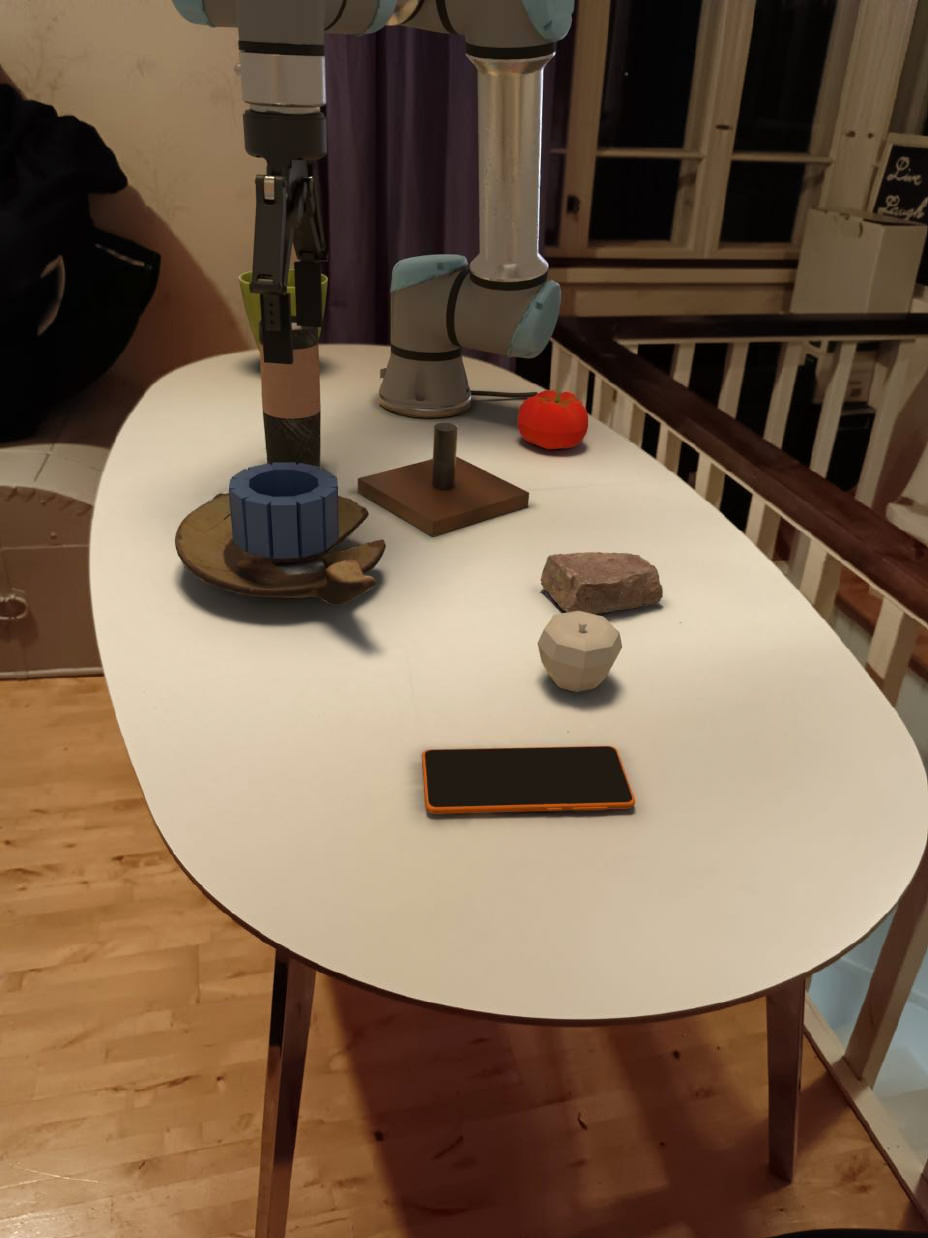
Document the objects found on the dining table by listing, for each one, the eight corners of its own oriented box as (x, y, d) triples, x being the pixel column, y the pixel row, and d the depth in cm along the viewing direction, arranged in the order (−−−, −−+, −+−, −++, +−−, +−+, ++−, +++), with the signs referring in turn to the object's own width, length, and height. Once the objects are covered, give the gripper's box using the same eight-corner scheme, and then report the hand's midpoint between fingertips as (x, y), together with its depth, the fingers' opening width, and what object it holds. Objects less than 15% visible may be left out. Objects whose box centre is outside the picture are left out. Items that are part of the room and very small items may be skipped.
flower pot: (227, 368, 169) (220, 274, 161) (291, 353, 179) (287, 264, 171) (283, 388, 161) (278, 291, 153) (347, 371, 171) (346, 279, 163)
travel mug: (327, 461, 135) (324, 317, 124) (314, 482, 128) (310, 332, 118) (274, 457, 135) (267, 312, 125) (259, 477, 129) (249, 327, 118)
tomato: (550, 462, 139) (555, 412, 135) (501, 438, 146) (505, 391, 142) (601, 448, 145) (608, 400, 141) (552, 426, 152) (557, 380, 148)
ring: (304, 505, 108) (302, 455, 105) (358, 541, 101) (358, 489, 98) (215, 528, 102) (210, 475, 99) (265, 568, 95) (262, 513, 92)
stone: (625, 570, 111) (631, 533, 109) (667, 609, 104) (675, 571, 102) (534, 583, 107) (538, 546, 104) (571, 625, 100) (577, 586, 97)
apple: (570, 649, 96) (577, 592, 93) (633, 683, 91) (643, 625, 88) (516, 678, 91) (522, 619, 88) (580, 716, 86) (588, 655, 83)
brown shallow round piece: (361, 517, 120) (361, 459, 116) (416, 644, 95) (418, 576, 91) (176, 530, 114) (169, 470, 110) (184, 668, 89) (175, 597, 85)
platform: (451, 467, 135) (454, 398, 130) (528, 506, 125) (535, 433, 120) (357, 492, 126) (357, 419, 121) (432, 536, 116) (435, 459, 111)
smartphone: (421, 755, 80) (421, 747, 80) (614, 752, 82) (616, 744, 82) (426, 817, 74) (426, 809, 73) (636, 812, 76) (637, 804, 75)
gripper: (277, 97, 97) (288, 310, 108) (200, 116, 76) (223, 377, 87) (350, 102, 97) (353, 314, 108) (293, 121, 76) (304, 383, 87)
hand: (295, 343), depth 98 cm, fingers open, 13 cm apart
